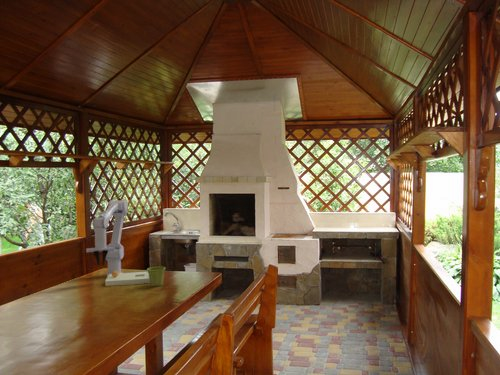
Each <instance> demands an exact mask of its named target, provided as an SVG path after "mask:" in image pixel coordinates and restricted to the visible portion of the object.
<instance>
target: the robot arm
mask: <svg viewBox="0 0 500 375" xmlns="http://www.w3.org/2000/svg"><path fill="white" fill-rule="evenodd" d="M107 206H108V207H107V209H106V210H103V211H102V212H101V213H100V214H99V215H98V217H95V218H94V219H93V220H92V227H93V232H94V246H95V247H90V248H89V247H88V248H85V250H86V251H85V252H86V253H93V256H94V257H95V260H96V263H97V266H101V259H100V256H101V254H102V256H101V257H102V266H105V261H107V275H106V278H107V277H108V275H109V274H112V272H113V271H117V272H118V273H123V271H122V262H121V260H122V259H123V258H124V255H125V250H124V249H125V247H124V246H123V245H122V244H121V239H122V232H123V226H124V220H125V219H124V218H125V216H127V214H128V209H129V204H128V201H127V200H126V199H124V200H112V199H111V200H109V202H108V204H107ZM113 217H114V222H113V230H112V236H111V240H110V243H109V244H107V228H108V226H109V222H110V220H111V219H112V218H113ZM101 252H102V253H101ZM100 253H101V254H100Z"/></svg>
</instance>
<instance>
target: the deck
mask: <svg viewBox="0 0 500 375" xmlns="http://www.w3.org/2000/svg"><path fill="white" fill-rule="evenodd" d="M104 283H105V287H111V286H128V285H140V284H141V285H142V284H144V283H145V284H150V278H149V273H148V271H138V272H137V271H136V272H135V271H134V272H122V273H118V276H117V277H113V276H112V274H109V275H108V277H106V279H105V281H104Z"/></svg>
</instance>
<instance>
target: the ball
mask: <svg viewBox="0 0 500 375" xmlns="http://www.w3.org/2000/svg"><path fill="white" fill-rule="evenodd" d="M112 276H113V277H117V276H118V272H117V271H113V272H112Z"/></svg>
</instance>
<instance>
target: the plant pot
mask: <svg viewBox="0 0 500 375" xmlns="http://www.w3.org/2000/svg"><path fill="white" fill-rule="evenodd" d="M165 270H166V267H165V266H153V267H151V266H150V267H148V268H147V269H146V271H147V272H148V273H149V278H150V283H149V284H150V286H151V287H158V286H159V287H160V286H162V285H163V284H164V276H165Z"/></svg>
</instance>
